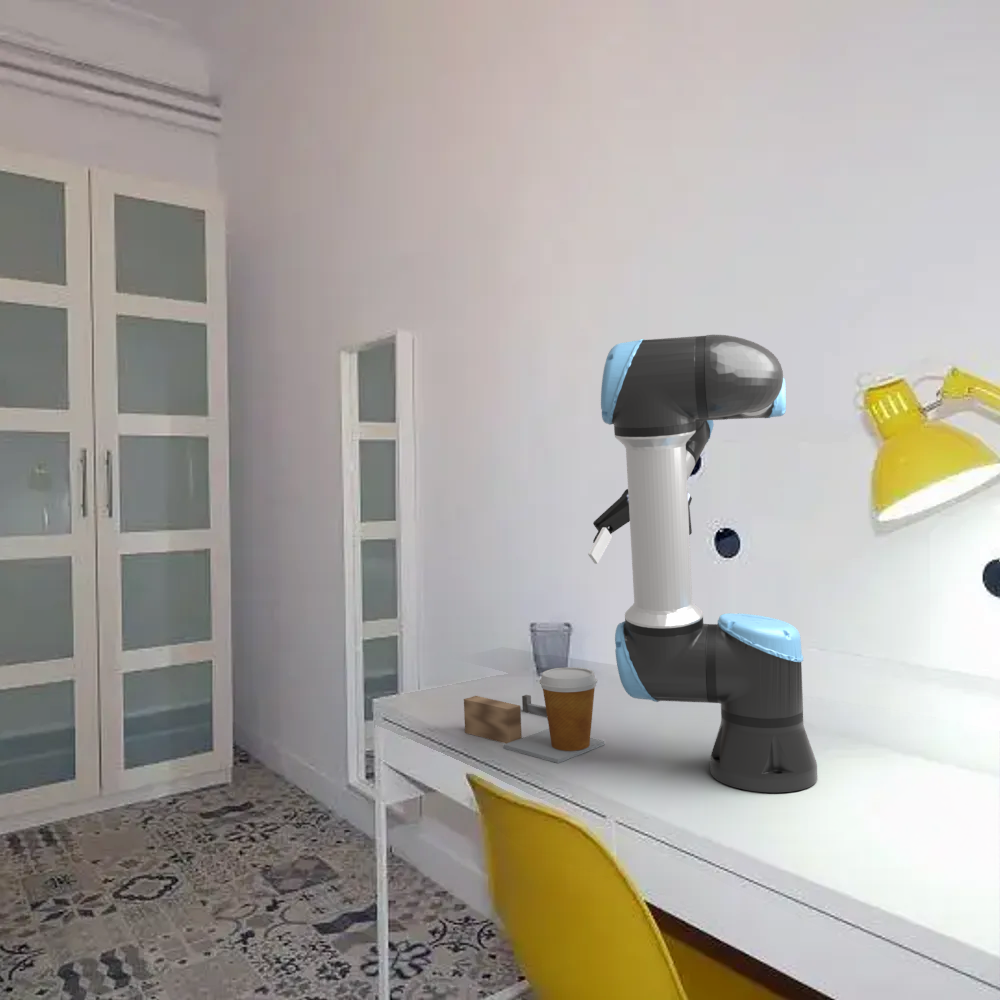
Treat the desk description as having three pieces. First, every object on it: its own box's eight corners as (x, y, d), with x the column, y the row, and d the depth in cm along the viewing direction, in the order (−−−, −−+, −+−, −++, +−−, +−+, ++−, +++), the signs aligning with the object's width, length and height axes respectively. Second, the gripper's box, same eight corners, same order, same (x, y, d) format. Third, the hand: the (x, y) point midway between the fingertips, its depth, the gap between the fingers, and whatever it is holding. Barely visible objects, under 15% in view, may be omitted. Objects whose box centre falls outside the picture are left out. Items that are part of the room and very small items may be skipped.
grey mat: (604, 744, 144) (604, 740, 144) (558, 763, 136) (557, 759, 136) (550, 731, 153) (550, 727, 153) (503, 748, 144) (503, 744, 144)
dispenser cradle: (580, 722, 158) (579, 689, 158) (514, 746, 145) (513, 710, 145) (526, 710, 167) (525, 679, 167) (460, 731, 155) (459, 698, 154)
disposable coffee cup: (597, 735, 147) (594, 665, 147) (602, 753, 138) (599, 678, 137) (541, 737, 148) (538, 667, 147) (542, 755, 138) (539, 680, 138)
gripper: (735, 486, 157) (692, 578, 147) (623, 488, 174) (578, 570, 164) (719, 457, 153) (674, 549, 143) (606, 462, 170) (559, 544, 160)
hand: (623, 560), depth 153 cm, fingers open, 13 cm apart
